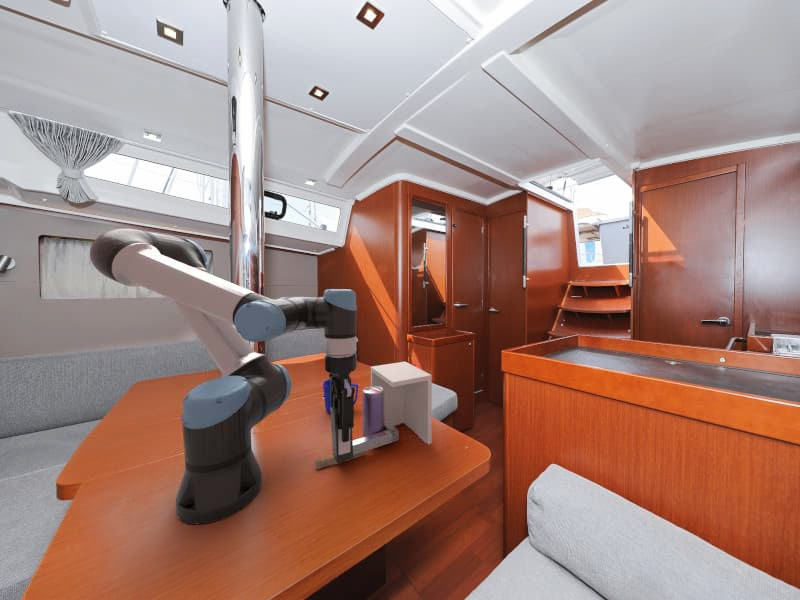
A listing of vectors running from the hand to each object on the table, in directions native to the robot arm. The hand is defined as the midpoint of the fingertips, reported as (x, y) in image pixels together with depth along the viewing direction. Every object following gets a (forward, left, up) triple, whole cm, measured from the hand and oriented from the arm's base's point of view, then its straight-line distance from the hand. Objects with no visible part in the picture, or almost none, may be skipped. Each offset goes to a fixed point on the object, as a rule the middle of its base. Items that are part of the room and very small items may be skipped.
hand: (341, 447), depth 70 cm
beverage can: (+10, +4, -4) cm, 12 cm away
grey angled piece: (+7, +2, -2) cm, 7 cm away
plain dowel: (0, 0, -4) cm, 4 cm away
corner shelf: (+18, +4, -4) cm, 19 cm away
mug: (+8, +28, -4) cm, 30 cm away
